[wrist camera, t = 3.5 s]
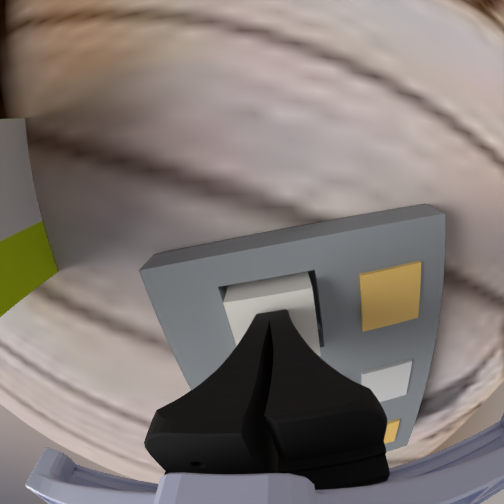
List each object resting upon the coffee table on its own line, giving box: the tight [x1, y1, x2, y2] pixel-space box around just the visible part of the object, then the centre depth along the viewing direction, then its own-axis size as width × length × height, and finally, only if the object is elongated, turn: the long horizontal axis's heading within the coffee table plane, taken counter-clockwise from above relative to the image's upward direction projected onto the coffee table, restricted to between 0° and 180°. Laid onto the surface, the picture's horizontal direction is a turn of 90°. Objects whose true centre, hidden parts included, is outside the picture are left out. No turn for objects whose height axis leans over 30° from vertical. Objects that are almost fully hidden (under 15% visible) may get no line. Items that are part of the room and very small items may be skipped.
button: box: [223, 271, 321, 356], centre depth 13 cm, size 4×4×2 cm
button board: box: [139, 204, 446, 452], centre depth 16 cm, size 19×14×2 cm
